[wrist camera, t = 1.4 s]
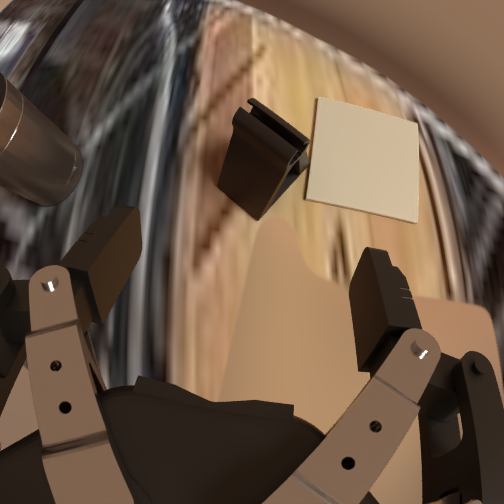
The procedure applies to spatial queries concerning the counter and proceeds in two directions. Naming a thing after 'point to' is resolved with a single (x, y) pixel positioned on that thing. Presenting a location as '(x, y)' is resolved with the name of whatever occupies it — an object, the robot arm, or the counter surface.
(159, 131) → the counter surface
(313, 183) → the board
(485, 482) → the robot arm
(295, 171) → the phone stand
